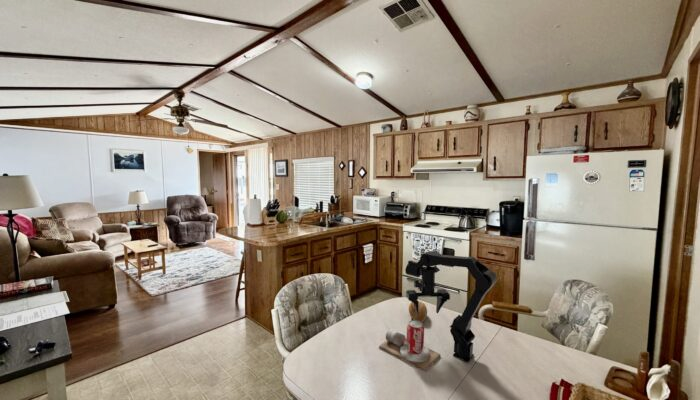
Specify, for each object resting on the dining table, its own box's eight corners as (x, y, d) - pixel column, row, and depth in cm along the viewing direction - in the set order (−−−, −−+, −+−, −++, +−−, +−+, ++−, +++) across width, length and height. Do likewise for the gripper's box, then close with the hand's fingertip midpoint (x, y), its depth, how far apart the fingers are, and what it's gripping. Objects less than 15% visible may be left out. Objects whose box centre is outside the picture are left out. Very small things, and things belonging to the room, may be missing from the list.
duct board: (440, 356, 124) (440, 342, 123) (425, 371, 114) (425, 356, 113) (395, 335, 138) (396, 323, 138) (379, 347, 129) (379, 334, 128)
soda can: (426, 351, 124) (427, 323, 122) (417, 358, 119) (418, 329, 118) (412, 344, 129) (413, 317, 127) (402, 350, 124) (403, 323, 122)
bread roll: (408, 323, 150) (409, 308, 149) (407, 310, 165) (408, 296, 164) (428, 325, 149) (428, 310, 148) (425, 311, 163) (426, 297, 162)
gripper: (441, 273, 142) (440, 304, 143) (403, 274, 140) (402, 305, 142) (451, 281, 131) (450, 315, 132) (409, 282, 129) (408, 317, 131)
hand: (427, 313), depth 134 cm, fingers open, 9 cm apart
